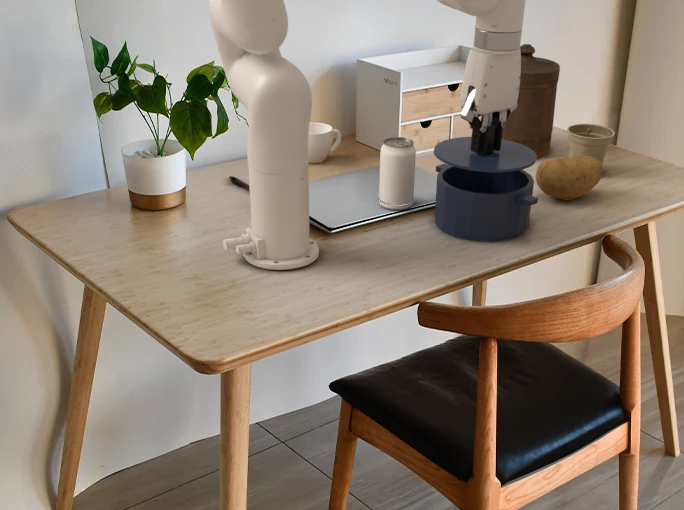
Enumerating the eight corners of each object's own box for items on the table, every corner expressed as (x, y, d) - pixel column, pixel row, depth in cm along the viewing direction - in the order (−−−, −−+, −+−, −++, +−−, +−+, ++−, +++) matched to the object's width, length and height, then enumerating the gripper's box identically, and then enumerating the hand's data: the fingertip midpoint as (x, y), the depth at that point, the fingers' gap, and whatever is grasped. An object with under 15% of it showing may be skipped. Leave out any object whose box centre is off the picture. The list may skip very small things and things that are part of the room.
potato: (612, 200, 176) (619, 160, 172) (550, 211, 171) (556, 170, 167) (581, 183, 184) (587, 144, 179) (522, 193, 179) (526, 153, 174)
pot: (495, 255, 154) (500, 207, 150) (405, 215, 168) (407, 170, 164) (558, 230, 164) (565, 184, 159) (468, 194, 178) (471, 151, 173)
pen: (225, 181, 182) (225, 175, 182) (232, 179, 183) (232, 173, 182) (263, 202, 173) (263, 196, 172) (271, 200, 174) (271, 195, 173)
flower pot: (614, 170, 191) (621, 128, 186) (598, 183, 184) (605, 140, 179) (571, 161, 195) (577, 120, 190) (554, 173, 188) (560, 132, 184)
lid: (487, 183, 149) (492, 146, 146) (412, 154, 160) (414, 119, 157) (557, 162, 159) (562, 127, 156) (481, 136, 170) (484, 103, 167)
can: (395, 195, 177) (397, 133, 170) (420, 204, 173) (423, 142, 167) (371, 204, 173) (373, 141, 167) (396, 213, 169) (399, 150, 163)
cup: (290, 156, 195) (289, 125, 191) (332, 150, 199) (332, 119, 195) (305, 168, 189) (304, 135, 185) (348, 161, 193) (349, 129, 189)
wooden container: (559, 145, 204) (572, 42, 192) (534, 164, 193) (547, 56, 181) (497, 134, 210) (506, 33, 198) (470, 152, 199) (478, 47, 187)
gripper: (512, 30, 156) (500, 137, 166) (445, 41, 147) (436, 154, 157) (547, 38, 151) (532, 148, 161) (480, 50, 142) (468, 166, 152)
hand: (485, 149), depth 159 cm, fingers closed on lid, 2 cm apart
